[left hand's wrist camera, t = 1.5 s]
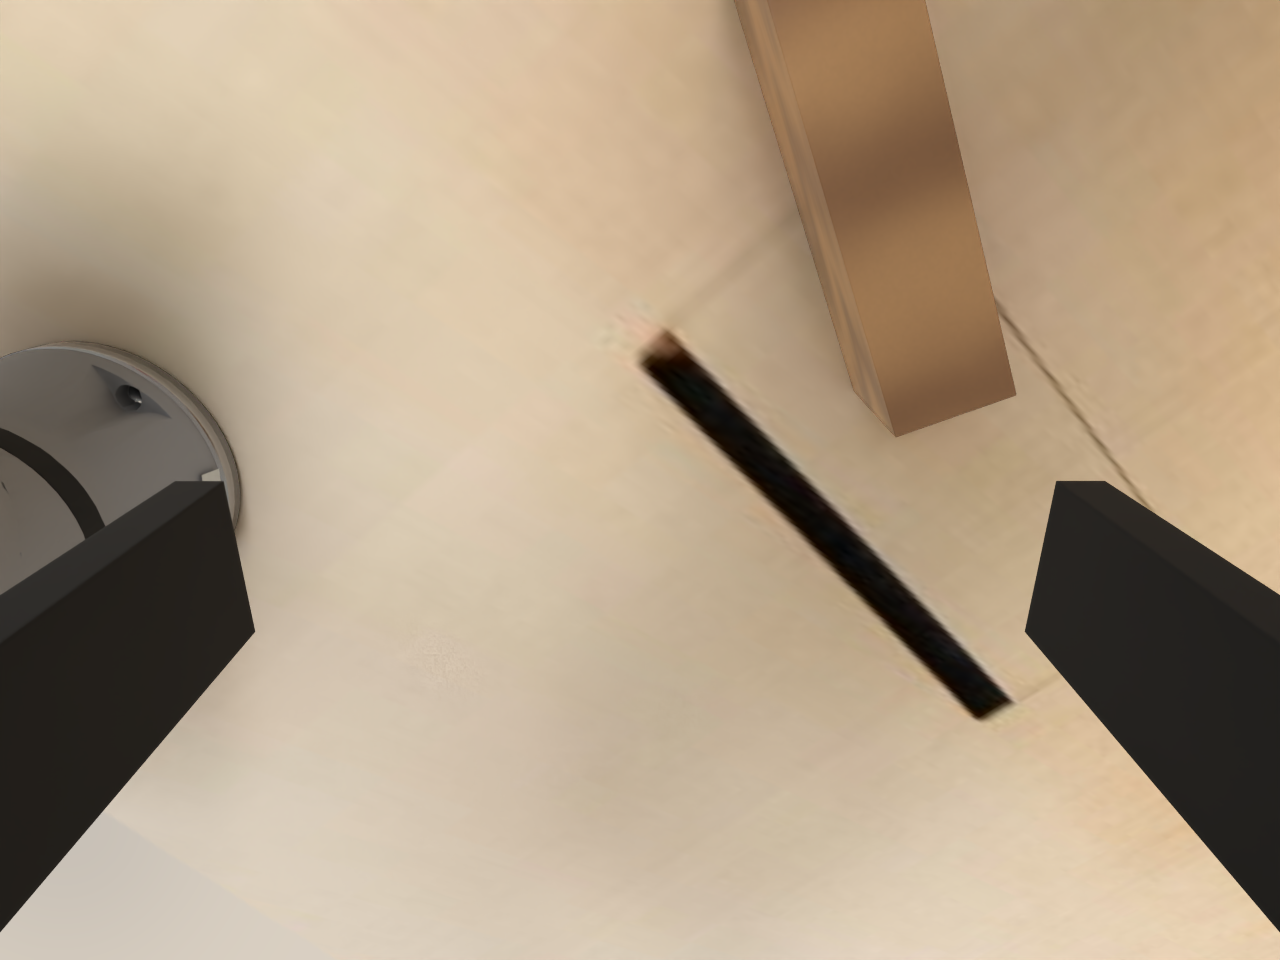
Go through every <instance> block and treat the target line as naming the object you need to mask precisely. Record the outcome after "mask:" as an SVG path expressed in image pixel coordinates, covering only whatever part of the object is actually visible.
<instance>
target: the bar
mask: <svg viewBox="0 0 1280 960" xmlns="http://www.w3.org/2000/svg"><path fill="white" fill-rule="evenodd" d="M734 1H735V4H736V8H737V11H738V14H739V17H740V21H741V24H742V27H743V30H744V34H745V37H746V40H747V44H748V47H749V50H750V53H751V57H752V60H753V63H754V66H755V70H756V73H757V76H758V79H759V83H760V86H761V89H762V92H763V96H764V99H765V102H766V106H767V109H768V112H769V115H770V119H771V122H772V125H773V128H774V132H775V135H776V138H777V141H778V145H779V148H780V151H781V154H782V158H783V161H784V164H785V168H786V171H787V174H788V177H789V181H790V184H791V187H792V190H793V194H794V197H795V200H796V203H797V207H798V210H799V213H800V216H801V220H802V223H803V226H804V230H805V233H806V236H807V239H808V243H809V246H810V249H811V252H812V256H813V259H814V262H815V265H816V269H817V272H818V275H819V278H820V282H821V285H822V288H823V292H824V295H825V298H826V301H827V305H828V308H829V311H830V314H831V318H832V321H833V324H834V327H835V331H836V334H837V337H838V340H839V344H840V347H841V350H842V354H843V357H844V360H845V363H846V367H847V370H848V373H849V376H850V380H851V383H852V386H853V389H854V392H855V393H856V394H857V395H858V396H859V397H860V398H861V399H862V401H863V402H864V403H865V404H866V405H867V406H868V407H869V408H870V409H871V411H872V412H873V413H874V414H875V415H876V416H877V417H878V418H879V419H880V421H881V422H882V423H883V424H884V425H885V426H886V427H887V428H888V429H889V430H890V432H891V433H892V434H893V435H894V436H895V437H898V436H901V435H904V434H907V433H910V432H912V431H915V430H918V429H921V428H924V427H927V426H930V425H933V424H935V423H938V422H941V421H944V420H947V419H950V418H953V417H955V416H958V415H961V414H964V413H967V412H970V411H973V410H975V409H978V408H981V407H984V406H987V405H990V404H993V403H996V402H998V401H1001V400H1004V399H1007V398H1010V397H1013V396H1016V391H1015V387H1014V382H1013V378H1012V374H1011V369H1010V365H1009V361H1008V356H1007V352H1006V348H1005V343H1004V339H1003V335H1002V330H1001V326H1000V322H999V318H998V313H997V309H996V305H995V300H994V296H993V292H992V287H991V283H990V279H989V274H988V270H987V266H986V262H985V257H984V253H983V249H982V244H981V240H980V236H979V231H978V227H977V223H976V218H975V214H974V210H973V205H972V201H971V197H970V193H969V188H968V184H967V180H966V175H965V171H964V167H963V162H962V158H961V154H960V149H959V145H958V141H957V137H956V132H955V128H954V124H953V119H952V115H951V111H950V106H949V102H948V98H947V93H946V89H945V85H944V80H943V76H942V72H941V68H940V63H939V59H938V55H937V50H936V46H935V42H934V37H933V33H932V29H931V24H930V20H929V16H928V12H927V7H926V3H925V0H734Z"/></svg>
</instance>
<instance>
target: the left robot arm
mask: <svg viewBox="0 0 1280 960" xmlns="http://www.w3.org/2000/svg"><path fill="white" fill-rule="evenodd" d="M239 509H240V484H239V478H238V472H237V468H236V465H235V461H234V458H233V455H232V453H231V450H230V447H229V445H228V443H227V441H226V439H225V437H224V435H223V433H222V432H221V430H220V428H219V426H218V425H217V423H216V422H215V420H214V419H213V417H212V416H211V415H210V413H209V412H208V411H207V409H206V408H205V407H204V406H203V405H202V404H201V402H200V401H199V400H198V399H197V398H196V397H195V396H194V395H193V394H192V393H191V392H190V391H189V390H188V389H187V388H186V387H184V386H183V385H182V384H181V383H180V382H179V381H178V380H176V379H175V378H173V377H172V376H171V375H169V374H168V373H167V372H165V371H164V370H162V369H160V368H159V367H157V366H156V365H154V364H152V363H150V362H148V361H146V360H145V359H143V358H141V357H138V356H136V355H134V354H131V353H129V352H127V351H124V350H120V349H117V348H114V347H111V346H106V345H102V344H97V343H89V342H75V341H68V342H56V343H50V344H44V345H41V346H37V347H33V348H29V349H25V350H22V351H18V352H15V353H11V354H9V355H6V356H4V357H2V358H0V932H1V931H2V929H3V928H4V927H5V926H6V925H7V924H8V922H9V921H10V920H11V919H12V918H13V916H14V915H15V914H16V913H17V912H18V911H19V909H20V908H21V907H22V906H23V905H24V904H25V902H26V901H27V900H28V899H29V898H30V896H31V895H32V894H33V893H34V892H35V891H36V889H37V888H38V887H39V886H40V885H41V883H42V882H43V881H44V880H45V879H46V877H47V876H48V875H49V874H50V873H51V872H52V871H53V869H54V868H55V867H56V866H57V865H58V863H59V862H60V861H61V860H62V859H63V857H64V856H65V855H66V854H67V853H68V852H69V850H70V849H71V848H72V847H73V846H74V845H75V843H76V842H77V841H78V840H79V839H80V838H81V836H82V835H83V834H84V833H85V832H86V830H87V829H88V828H89V827H90V826H91V825H92V823H93V822H94V821H95V820H96V819H97V817H98V816H99V815H100V814H101V813H102V812H103V810H104V809H105V808H106V807H107V806H108V805H109V803H110V802H111V801H112V800H113V799H114V797H115V796H116V795H117V794H118V793H119V792H120V790H121V789H122V788H123V787H124V786H125V784H126V783H127V782H128V781H129V780H130V779H131V777H132V776H133V775H134V774H135V773H136V771H137V770H138V769H139V768H140V767H141V766H142V764H143V763H144V762H145V761H146V760H147V759H148V757H149V756H150V755H151V754H152V753H153V751H154V750H155V749H156V748H157V747H158V746H159V744H160V743H161V742H162V741H163V740H164V738H165V737H166V736H167V735H168V734H169V733H170V731H171V730H172V729H173V728H174V727H175V726H176V724H177V723H178V722H179V721H180V720H181V718H182V717H183V716H184V715H185V714H186V713H187V711H188V710H189V709H190V708H191V707H192V705H193V704H194V703H195V702H196V701H197V700H198V698H199V697H200V696H201V695H202V694H203V693H204V691H205V690H206V689H207V688H208V687H209V685H210V684H211V683H212V682H213V681H214V680H215V678H216V677H217V676H218V675H219V674H220V672H221V671H222V670H223V669H224V668H225V667H226V665H227V664H228V663H229V662H230V661H231V660H232V658H233V657H234V656H235V655H236V654H237V652H238V651H239V650H240V649H241V648H242V647H243V645H244V644H245V643H246V642H247V641H248V639H249V638H250V637H251V636H252V635H253V634H254V632H255V629H254V624H253V619H252V614H251V610H250V605H249V600H248V595H247V590H246V586H245V581H244V576H243V571H242V566H241V562H240V557H239V552H238V547H237V543H236V538H235V533H234V530H235V527H236V524H237V520H238V515H239ZM1025 632H1026V634H1027V635H1028V636H1029V637H1030V638H1031V639H1032V641H1033V642H1034V643H1035V644H1036V645H1037V647H1038V648H1039V649H1040V650H1041V651H1042V652H1043V654H1044V655H1045V656H1046V657H1047V658H1048V660H1049V661H1050V662H1051V663H1052V664H1053V665H1054V667H1055V668H1056V669H1057V670H1058V671H1059V672H1060V674H1061V675H1062V676H1063V677H1064V678H1065V680H1066V681H1067V682H1068V683H1069V684H1070V685H1071V687H1072V688H1073V689H1074V690H1075V691H1076V693H1077V694H1078V695H1079V696H1080V697H1081V698H1082V700H1083V701H1084V702H1085V703H1086V704H1087V705H1088V707H1089V708H1090V709H1091V710H1092V711H1093V713H1094V714H1095V715H1096V716H1097V717H1098V718H1099V720H1100V721H1101V722H1102V723H1103V724H1104V726H1105V727H1106V728H1107V729H1108V730H1109V731H1110V733H1111V734H1112V735H1113V736H1114V737H1115V738H1116V740H1117V741H1118V742H1119V743H1120V744H1121V746H1122V747H1123V748H1124V749H1125V750H1126V751H1127V753H1128V754H1129V755H1130V756H1131V757H1132V759H1133V760H1134V761H1135V762H1136V763H1137V764H1138V766H1139V767H1140V768H1141V769H1142V770H1143V772H1144V773H1145V774H1146V775H1147V776H1148V777H1149V779H1150V780H1151V781H1152V782H1153V783H1154V784H1155V786H1156V787H1157V788H1158V789H1159V790H1160V792H1161V793H1162V794H1163V795H1164V796H1165V797H1166V799H1167V800H1168V801H1169V802H1170V803H1171V805H1172V806H1173V807H1174V808H1175V809H1176V810H1177V812H1178V813H1179V814H1180V815H1181V816H1182V817H1183V819H1184V820H1185V821H1186V822H1187V823H1188V825H1189V826H1190V827H1191V828H1192V829H1193V830H1194V832H1195V833H1196V834H1197V835H1198V836H1199V838H1200V839H1201V840H1202V841H1203V842H1204V843H1205V845H1206V846H1207V847H1208V848H1209V849H1210V850H1211V852H1212V853H1213V854H1214V855H1215V856H1216V858H1217V859H1218V860H1219V861H1220V862H1221V863H1222V865H1223V866H1224V867H1225V868H1226V869H1227V871H1228V872H1229V873H1230V874H1231V875H1232V876H1233V878H1234V879H1235V880H1236V881H1237V882H1238V883H1239V885H1240V886H1241V887H1242V888H1243V889H1244V891H1245V892H1246V893H1247V894H1248V895H1249V896H1250V898H1251V899H1252V900H1253V901H1254V902H1255V904H1256V905H1257V906H1258V907H1259V908H1260V909H1261V911H1262V912H1263V913H1264V914H1265V915H1266V916H1267V918H1268V919H1269V920H1270V921H1271V922H1272V924H1273V925H1274V926H1275V927H1276V928H1277V929H1278V931H1279V932H1280V595H1279V594H1277V593H1276V592H1274V591H1273V590H1271V589H1270V588H1268V587H1267V586H1265V585H1264V584H1262V583H1261V582H1259V581H1257V580H1256V579H1254V578H1253V577H1251V576H1250V575H1248V574H1247V573H1245V572H1244V571H1242V570H1241V569H1239V568H1238V567H1236V566H1234V565H1233V564H1231V563H1230V562H1228V561H1227V560H1225V559H1224V558H1222V557H1221V556H1219V555H1218V554H1216V553H1215V552H1213V551H1211V550H1210V549H1208V548H1207V547H1205V546H1204V545H1202V544H1201V543H1199V542H1198V541H1196V540H1195V539H1193V538H1191V537H1190V536H1188V535H1187V534H1185V533H1184V532H1182V531H1181V530H1179V529H1178V528H1176V527H1175V526H1173V525H1172V524H1170V523H1168V522H1167V521H1165V520H1164V519H1162V518H1161V517H1159V516H1158V515H1156V514H1155V513H1153V512H1152V511H1150V510H1149V509H1147V508H1145V507H1144V506H1142V505H1141V504H1139V503H1138V502H1136V501H1135V500H1133V499H1132V498H1130V497H1129V496H1127V495H1126V494H1124V493H1122V492H1121V491H1119V490H1118V489H1116V488H1115V487H1113V486H1112V485H1110V484H1109V483H1107V482H1106V481H1056V485H1055V490H1054V495H1053V499H1052V504H1051V509H1050V514H1049V519H1048V523H1047V528H1046V533H1045V538H1044V543H1043V547H1042V552H1041V557H1040V562H1039V566H1038V571H1037V576H1036V581H1035V586H1034V590H1033V595H1032V600H1031V605H1030V610H1029V614H1028V619H1027V624H1026V629H1025Z"/></svg>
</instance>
